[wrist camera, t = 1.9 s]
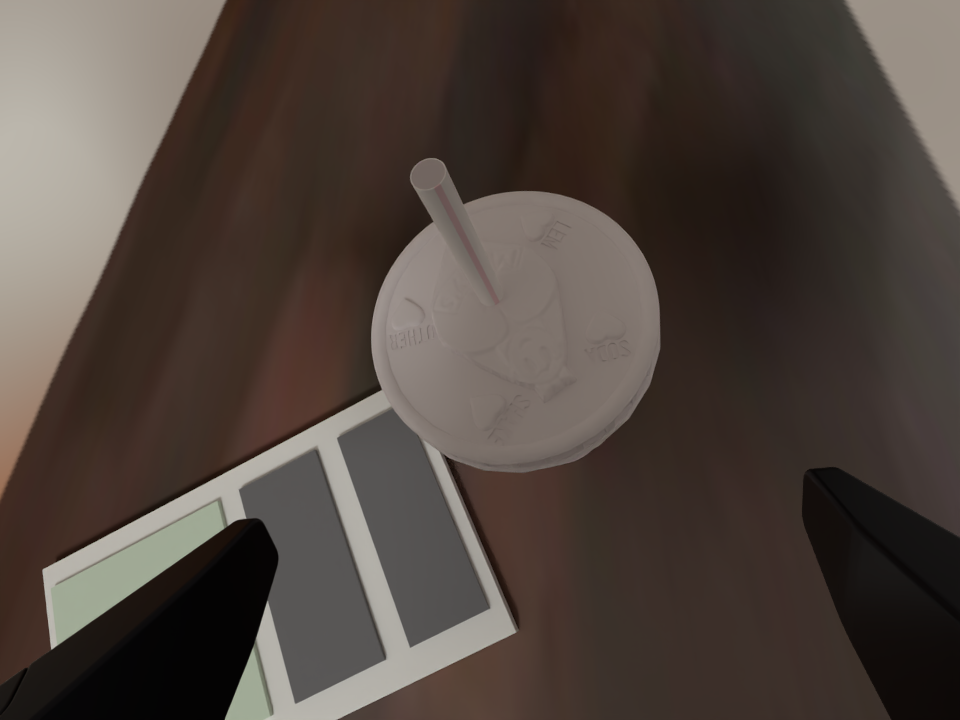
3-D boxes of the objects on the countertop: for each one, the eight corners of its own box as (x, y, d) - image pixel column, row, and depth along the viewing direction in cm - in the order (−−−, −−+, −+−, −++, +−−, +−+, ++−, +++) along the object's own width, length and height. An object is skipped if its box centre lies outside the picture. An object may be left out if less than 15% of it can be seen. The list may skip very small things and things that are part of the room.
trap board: (518, 630, 19) (515, 633, 18) (85, 840, 20) (67, 850, 19) (411, 379, 23) (405, 374, 22) (53, 569, 24) (37, 570, 23)
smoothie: (576, 303, 22) (509, -42, 9) (684, 435, 20) (803, 217, 7) (443, 396, 22) (191, 186, 9) (533, 539, 20) (363, 525, 7)
